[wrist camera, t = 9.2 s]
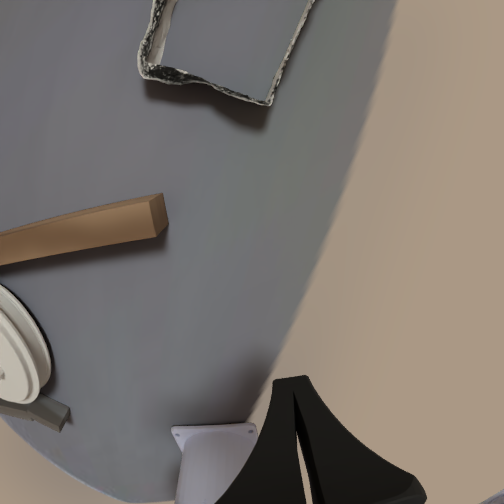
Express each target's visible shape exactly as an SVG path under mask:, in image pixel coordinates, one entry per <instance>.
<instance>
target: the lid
mask: <svg viewBox="0 0 504 504" xmlns="http://www.w3.org/2000/svg"><path fill="white" fill-rule="evenodd" d="M50 374H51V360H50V355H49V351H48V348H47V345H46V343H45V341H44V338H43V336H42V334H41V332H40V330H39V328H38V327H37V325H36V324H35V322H34V320H33V319H32V317H31V316H30V314H29V313H28V312H27V310H26V309H25V308H24V307H23V305H22V304H21V303H20V302H19V301H18V300H17V299H16V298H15V296H14V295H12V294H11V293H10V292H9V291H8V290H7V289H6V288H4V287H3V286H2V285H0V398H2V399H4V400H7V401H10V402H16V403H21V404H27V403H31V402H32V401H34V400H35V399H36V398H37V396H38V394H39V392H40V388H41V387H43V386H44V385H45V384H46V383H47V381H48V380H49V378H50Z"/></svg>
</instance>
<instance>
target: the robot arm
mask: <svg viewBox="0 0 504 504" xmlns="http://www.w3.org/2000/svg"><path fill="white" fill-rule="evenodd" d="M296 431H297V433H296ZM171 432H172V434H173V436H174V438H175V440H176V442H177V444H178V446H179V447H180V449H181V451H182V453H183V454H182V460H181V466H180V472H179V478H178V485H177V491H176V497H175V504H306V498H305V493H304V488H303V481H302V476H301V470H300V464H299V458H298V452H297V435H298V439H299V443H300V446H301V450H302V454H303V458H304V461H305V465H306V469H307V473H308V477H309V482H310V488H311V495H312V502H313V504H424V503H425V502H426V499H427V496H426V493H425V491H424V489H423V487H422V485H421V484H420V482H419V481H418V480H417V478H416V477H415V476H414V475H412V474H410V473H408V472H406V471H404V470H402V469H400V468H398V467H396V466H395V465H393V464H391V463H390V462H388V461H386V460H385V459H383V458H382V457H380V456H379V455H377V454H376V453H375V452H373V451H372V450H370V449H369V448H368V447H366V446H365V445H364V444H363V443H361V442H360V441H359V440H358V439H357V438H355V437H354V436H353V435H352V434H351V433H350V432H349V431H348V430H347V429H346V428H345V427H344V426H343V425H342V424H341V423H340V422H339V421H338V419H337V418H336V417H335V416H334V415H333V414H332V413H331V411H330V410H329V409H328V407H327V406H326V405H325V403H324V402H323V401H322V399H321V398H320V396H319V395H318V393H317V392H316V390H315V389H314V387H313V385H312V383H311V381H310V379H309V377H308V376H306V375H302V376H295V377H289V378H282V379H275V380H274V381H273V387H272V395H271V401H270V405H269V409H268V412H267V416H266V419H265V422H264V425H263V427H262V430H261V433H260V435H259V437H258V433H257V429H256V425H255V424H254V423H240V424H226V425H207V426H173V427H172V428H171ZM479 504H504V489H503V490H501V491H500V492H498V493H497V494H495V495H493V496H492V497H490V498H488V499H487V500H485V501H483V502H481V503H479Z"/></svg>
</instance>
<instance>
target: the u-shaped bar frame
mask: <svg viewBox="0 0 504 504" xmlns="http://www.w3.org/2000/svg"><path fill="white" fill-rule="evenodd" d="M168 224H169V223H168V218H167V213H166V208H165V203H164V197H163V193H160V194H155V195H150V196H145V197H140V198H135V199H130V200H125V201H120V202H116V203H111V204H107V205H102V206H98V207H94V208H89V209H85V210H81V211H77V212H73V213H69V214H65V215H61V216H57V217H53V218H49V219H46V220H42V221H38V222H35V223H31V224H27V225H24V226H20V227H17V228H13V229H10V230H7V231H3V232H0V265H4V264H9V263H14V262H19V261H24V260H29V259H34V258H40V257H45V256H50V255H55V254H61V253H66V252H71V251H77V250H82V249H88V248H94V247H99V246H105V245H111V244H117V243H122V242H128V241H134V240H140V239H146V238H152V237H157V235H158V234H159V233H160V232H161V231H162V230H163V229H164V228H165V227H166V226H167V225H168ZM0 413H2V414H5V415H9V416H13V417H17V418H21V419H25V420H30V421H33V420H36V421H37V422H39V423H41V424H43V425H45V426H47V427H49V428H51V429H53V430H55V431H57V432H59V433H60V432H61V430H62V428H63V426H64V424H65V422H66V421H67V419H68V417H69V415H70V408H69V407H67V406H65V405H63V404H61V403H59V402H57V401H55V400H53V399H51V398H49V397H47V396H45V395H43V394H41V393H39V394H38V396H37V398H36V399H35V400H34V401H32V402H31V403H27V404H21V403H16V402H10V401H7V400H4V399H2V398H0Z"/></svg>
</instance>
